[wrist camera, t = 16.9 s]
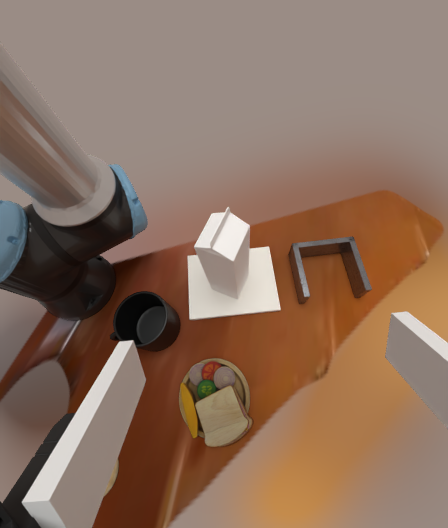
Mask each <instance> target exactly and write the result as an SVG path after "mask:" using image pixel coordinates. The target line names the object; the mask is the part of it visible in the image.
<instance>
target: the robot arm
mask: <svg viewBox="0 0 448 528" xmlns="http://www.w3.org/2000/svg"><path fill="white" fill-rule="evenodd" d="M0 174H1V175H2V176H4V177H5V178H7V179H8V180H9V181H11V182H12V183H14V184H15V185H16V186H18V187H19V188H20V189H22V190H23V191H25V192H26V193H27V194H29V195H30V196H31V200H32V204H30V205H28V206H26V207H24V208H22V207H21V206H20V205H19V204H17V203H13V202H11V201H2V200H0V289H4V290H7V291H10V292H13V293H16V294H19V295H22V296H25V297H29V298H32V299H35V300H38V301H39V302H40V303H41V304H42V305H43V306H44V307H45V308H46V309H47V310H48V311H49V312H50V313H51V314H52V315H54V316H56V317H59V318H62V319H66V320H72V321H75V320H82V319H85V318H88V317H90V316H92V315H94V314H95V313H97V312H98V311H99V310H101V309H102V308H103V307H104V306H105V305H106V303H107V302H108V301H109V299H110V297H111V296H112V293H113V291H114V288H115V282H116V277H115V272H114V269H113V267H112V265H111V264H110V263H109V262H108V261H107V260H105V259H104V258H103V257H102V256H100V254H102V253H103V252H105V251H107V250H109V249H111V248H113V247H115V246H116V245H118V244H120V243H122V242H124V241H126V240H128V239H132V238H134V237H135V235H137V234H138V233H140V232H142V231H143V230H145V228H146V227H147V224H148V222H147V217H146V214H145V212H144V209H143V207H142V205H141V203H140V201H139V200H138V197H137V195H136V192H135V191H134V188H133V186H132V184H131V182H130V181H129V179H128V177H127V175H126V174H125V172H124V170H123V169H122V168H121V166H120V165H117V164H114V165H107V164H106V163H105V162H104V161H103V160H101V159H100V158H98V157H96V156H93V155H89V154H86V153H85V152H84V151H83V149H82V148H81V146H80V145H79V144H78V143H77V141H76V140H75V139H74V137H73V136H72V135H71V133H70V132H69V131H68V129H67V128H66V127H65V126H64V124H63V123H62V122H61V120H60V119H59V118H58V116H57V115H56V114H55V113H54V111H53V110H52V109H51V107H50V106H49V105H48V103H47V102H46V101H45V99H44V98H43V97H42V95H41V94H40V93H39V92H38V90H37V89H36V88H35V86H34V85H33V84H32V82H31V81H30V80H29V78H28V77H27V76H26V75H25V73H24V72H23V71H22V70H21V68H20V67H19V65H18V64H17V63H16V62H15V60H14V59H13V58H12V56H11V55H10V54H9V52H8V51H7V50H6V49H5V47H4V46H3V45H2V43H1V42H0ZM385 357H386V359H387V360H388V361H389V362H390V363H391V364H392V365H393V367H394V368H395V369H396V370H397V371H398V373H399V374H400V375H401V376H402V377H403V378H404V379H405V381H406V382H407V383H408V384H409V385H410V386H411V388H412V389H413V390H414V391H415V392H416V393H417V394H418V396H419V397H420V398H421V399H422V400H423V401H424V403H425V404H426V405H427V406H428V407H429V408H430V409H431V411H432V412H433V413H434V414H435V415H436V416H437V418H438V419H439V420H440V421H441V422H442V423H443V425H444V426H445V427H446V428H447V429H448V343H447V342H446V341H444V340H443V339H442V338H441V337H439V336H438V335H437V334H435V333H434V332H433V331H431V330H430V329H429V328H428V327H426V326H425V325H424V324H422V323H421V322H420V321H419V320H417V319H416V318H415V317H413V316H412V315H411V314H410V313H408V312H398V313H391V319H390V327H389V333H388V341H387V348H386V355H385ZM145 382H146V379H145V375H144V372H143V369H142V366H141V362H140V359H139V356H138V353H137V349H136V346H135V343H134V340H130V341H121V342H119V343H118V345H117V346H116V348H115V350H114V351H113V353H112V354H111V356H110V358H109V359H108V361H107V363H106V364H105V366H104V368H103V369H102V371H101V373H100V374H99V376H98V378H97V379H96V381H95V382H94V384H93V386H92V387H91V389H90V391H89V392H88V394H87V396H86V397H85V399H84V401H83V402H82V404H81V406H80V407H79V409H78V410H77V412H76V413H71V414H66V415H65V416H64V417H63V418H62V419H61V420H60V421H59V422H58V423H57V424H55V425H54V427H53V428H52V429H51V431H50V432H49V434H48V435H47V437H46V438H45V440H44V443H43V444H41V446H40V447H39V449H38V450H37V452H36V455H35V457H33V458H32V459H31V461H30V463H29V464H28V465H27V467H26V469H25V470H24V472H23V473H22V475H21V476H20V478H19V479H18V481H17V482H16V484H15V485H14V487H13V488H12V490H11V491H10V493H9V494H8V496H7V497H6V499H5V500H4V502H3V503H1V502H0V528H92V526H93V523H94V521H95V518H96V515H97V512H98V510H99V507H100V504H101V502H102V499H103V496H104V493H105V491H106V488H107V485H108V483H109V480H110V477H111V474H112V472H113V469H114V466H115V464H116V461H117V458H118V455H119V453H120V450H121V447H122V445H123V442H124V439H125V436H126V434H127V431H128V428H129V425H130V423H131V420H132V417H133V415H134V412H135V409H136V406H137V404H138V401H139V398H140V396H141V393H142V390H143V387H144V385H145Z"/></svg>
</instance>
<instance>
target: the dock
mask: <svg viewBox="0 0 448 528" xmlns="http://www.w3.org/2000/svg"><path fill="white" fill-rule="evenodd" d="M335 253H341V255H342V258H343V262H344V265H345V268H346V271H347V274H348V277H349V281H350V284H351V287H352V290H353V293H354V296H355V298H358V297H361V296H363V295H364V294H366V293H367V292H369V291H370V290H372V289H371V286H370V283H369V280H368V277H367V274H366V272H365V269H364V266H363V263H362V260H361V257H360V254H359V252H358V249H357V246H356V243H355V240H354V237H345V238H337V239H328V240H320V241H311V242H303V243H294V244H292V246H291V249H290V252H289V254H288V255H289V260H290V264H291V269H292V273H293V278H294V283H295V287H296V292H297V296H298V301H299V304H302V303H305V302H306V300H307V299H308V298H309V297H310V294H309V290H308V286H307V281H306V277H305V273H304V269H303V265H302V261H301V257H309V256H318V255H326V254H335Z"/></svg>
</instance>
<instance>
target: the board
mask: <svg viewBox="0 0 448 528" xmlns="http://www.w3.org/2000/svg"><path fill="white" fill-rule="evenodd" d="M188 282H189V315H190V320H198V319H207V318H217V317H226V316H236V315H245V314H255V313H264V312H273V311H280V310H281V309H280V304H279V298H278V293H277V287H276V282H275V277H274V271H273V266H272V260H271V255H270V249H269V247H261V248H252V249H249V275H248V277H247V280H246V282H245V284H244V287H243V289H242V292H241V294H240V296H239V299H238V300H237V299H235V298H232V297H230V296H228V295H225V294H223V293H220V292H218V291H215V290H213V289H211V286H210V284H209V281H208V279H207V277H206V274H205V272H204V270H203V267H202V265H201V262H200V260H199V258H198V255H193V256H188Z"/></svg>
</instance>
